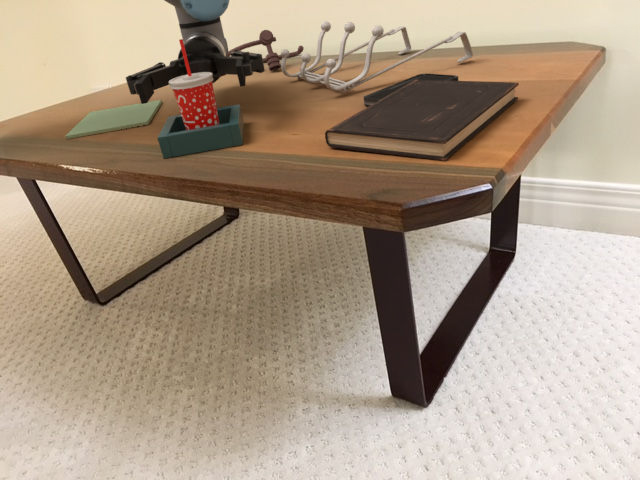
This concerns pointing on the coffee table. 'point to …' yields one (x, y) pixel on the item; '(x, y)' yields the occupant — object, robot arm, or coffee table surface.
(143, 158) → the coffee table surface
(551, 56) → the coffee table surface
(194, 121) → the beverage cup
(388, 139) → the hardcover book
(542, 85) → the coffee table surface
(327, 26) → the over door rack
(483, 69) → the coffee table surface
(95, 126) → the mat
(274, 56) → the toilet paper hanger
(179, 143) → the open rectangular box
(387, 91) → the phone
